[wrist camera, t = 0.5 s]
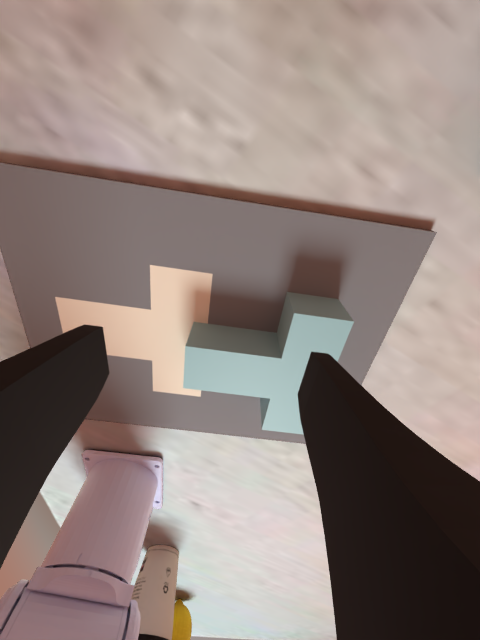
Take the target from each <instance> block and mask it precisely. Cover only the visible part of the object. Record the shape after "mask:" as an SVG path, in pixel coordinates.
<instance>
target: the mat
mask: <svg viewBox="0 0 480 640" xmlns="http://www.w3.org/2000/svg"><path fill="white" fill-rule="evenodd" d="M436 233H437V232H434V231H430V230H424V229H418V228H411V227H405V226H399V225H393V224H386V223H380V222H374V221H367V220H361V219H355V218H349V217H342V216H336V215H330V214H324V213H317V212H311V211H305V210H298V209H292V208H286V207H280V206H273V205H267V204H261V203H254V202H248V201H242V200H236V199H229V198H223V197H217V196H210V195H204V194H198V193H192V192H185V191H179V190H173V189H166V188H160V187H154V186H148V185H141V184H135V183H129V182H122V181H116V180H110V179H104V178H97V177H91V176H85V175H79V174H72V173H66V172H60V171H53V170H47V169H41V168H35V167H28V166H22V165H16V164H9V163H3V162H0V249H1V252H2V255H3V259H4V262H5V265H6V269H7V272H8V275H9V279H10V282H11V285H12V289H13V292H14V295H15V299H16V302H17V305H18V308H19V312H20V315H21V318H22V322H23V325H24V328H25V332H26V335H27V338H28V342H29V345H30V348H33V347H35V346H37V345H39V344H41V343H43V342H46V341H48V340H50V339H52V338H54V337H56V336H59V335H61V334H63V333H65V332H67V331H70V330H72V329H74V328H77V327H79V326H82V325H93V326H101V327H103V332H104V339H105V345H106V352H107V359H108V366H109V375H108V378H107V380H106V382H105V384H104V386H103V389H102V391H101V393H100V395H99V397H98V399H97V400H96V402H95V403H94V405H93V407H92V408H91V410H90V411H89V413H88V414H87V416H86V417H85V419H90V420H99V421H107V422H116V423H125V424H134V425H143V426H152V427H161V428H170V429H179V430H187V431H196V432H205V433H214V434H223V435H232V436H241V437H250V438H258V439H267V440H276V441H285V442H294V443H303V444H306V442H305V438H304V435H303V434H295V433H286V432H277V431H268V430H262V425H261V408H260V397H252V396H244V395H236V394H227V393H219V392H211V391H203V390H194V389H186V388H183V381H184V361H185V346H186V343H187V340H188V337H189V334H190V331H191V328H192V325H193V322H200V323H207V324H214V325H222V326H229V327H237V328H244V329H252V330H259V331H267V332H274V333H277V330H278V326H279V322H280V318H281V314H282V310H283V306H284V302H285V298H286V294H287V292H292V293H299V294H306V295H313V296H320V297H327V298H334V299H339V301H340V302H341V304H342V305H343V306H344V308H345V309H346V311H347V312H348V313H349V315H350V316H351V318H352V319H353V321H354V323H353V325H352V328H351V330H350V333H349V335H348V338H347V340H346V342H345V345H344V347H343V350H342V352H341V355H340V357H339V359H338V363H339V364H340V365H341V366H342V367H343V368H344V369H345V370H346V371H347V372H348V373H349V374H350V375H351V376H352V377H353V378H354V379H355V380H356V381H357V382H358V383H359V384H360V385H361V384H362V382H363V380H364V378H365V376H366V374H367V372H368V370H369V368H370V366H371V364H372V362H373V360H374V358H375V356H376V354H377V352H378V350H379V348H380V346H381V344H382V342H383V340H384V338H385V336H386V334H387V332H388V330H389V328H390V326H391V324H392V322H393V320H394V318H395V316H396V314H397V312H398V310H399V307H400V305H401V303H402V301H403V299H404V297H405V295H406V293H407V291H408V289H409V287H410V285H411V283H412V281H413V279H414V277H415V275H416V273H417V271H418V269H419V267H420V265H421V263H422V261H423V259H424V257H425V255H426V253H427V251H428V249H429V247H430V245H431V243H432V241H433V239H434V237H435V235H436Z"/></svg>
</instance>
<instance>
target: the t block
mask: <svg viewBox="0 0 480 640" xmlns="http://www.w3.org/2000/svg"><path fill="white" fill-rule="evenodd" d="M353 323H354V321H353V319H352V318H351V316H350V315H349V313H348V312H347V311H346V309H345V308H344V306H343V305H342V304H341V302H340V301H339V299H334V298H327V297H320V296H313V295H306V294H299V293H292V292H287V294H286V298H285V302H284V306H283V310H282V314H281V318H280V322H279V326H278V330H277V333H274V332H267V331H259V330H252V329H244V328H237V327H229V326H222V325H214V324H207V323H200V322H193V325H192V328H191V331H190V334H189V337H188V340H187V343H186V346H185V361H184V381H183V388H186V389H194V390H203V391H211V392H219V393H227V394H236V395H244V396H252V397H260V408H261V425H262V430H268V431H277V432H286V433H295V434H303V429H302V425H301V421H300V413H299V404H298V391H299V388H300V385H301V382H302V379H303V376H304V373H305V369H306V366H307V363H308V360H309V357H310V354H311V352H320V353H328V354H329V355H331V356H332V357H333V358H334V359H335V360H336V361H337V362H338V359H339V357H340V355H341V352H342V350H343V347H344V345H345V342H346V340H347V338H348V335H349V333H350V330H351V328H352V325H353ZM303 435H304V434H303Z"/></svg>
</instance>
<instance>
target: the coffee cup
mask: <svg viewBox="0 0 480 640" xmlns="http://www.w3.org/2000/svg"><path fill="white" fill-rule="evenodd" d="M178 558H179V552H178V550H176V549H175V548H173V547H170V546H166V545H154V546H151V547H149V548H148V550H147V552H146V555H145V558H144V561H143V563H142V566H141V569H140V572H139V575H138V577H137V580H136V583H135V586H134V590H133V593H132V597H131V599H132V600H136V601H137V603H138V608H139V611H140V616H141V620H140V630H139V636H138V640H172V631H173V618H174V606H175V594H176V582H177V570H178Z"/></svg>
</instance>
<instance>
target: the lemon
mask: <svg viewBox="0 0 480 640" xmlns="http://www.w3.org/2000/svg"><path fill="white" fill-rule="evenodd" d="M191 629H192V622H191V616H190V612H189V610H188V608H187V607H186V606H185V605H184V604H183V602H182V600H181V599H178V600H177V601H176V602H175V606H174V618H173V631H172V640H190V637H191Z"/></svg>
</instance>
